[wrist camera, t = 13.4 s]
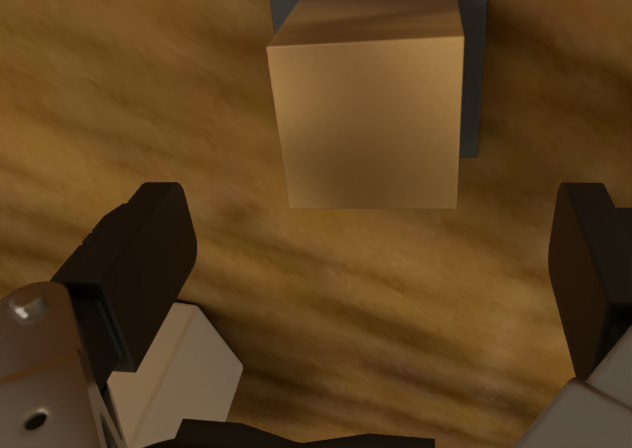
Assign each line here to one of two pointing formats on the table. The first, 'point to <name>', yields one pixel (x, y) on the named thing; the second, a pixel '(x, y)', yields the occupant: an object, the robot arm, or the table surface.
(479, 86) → the mat
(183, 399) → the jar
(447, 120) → the beech block
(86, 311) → the robot arm
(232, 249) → the table surface
